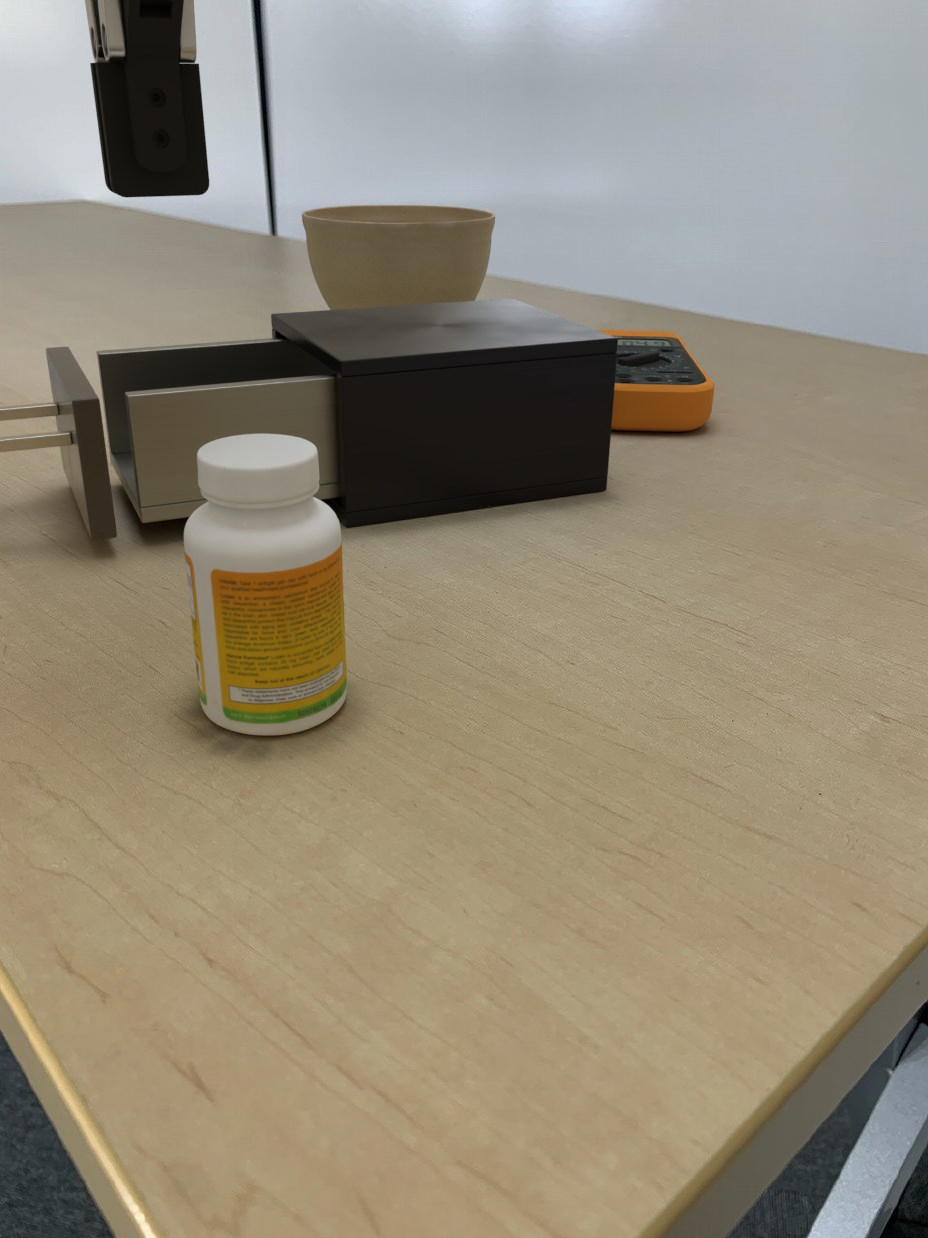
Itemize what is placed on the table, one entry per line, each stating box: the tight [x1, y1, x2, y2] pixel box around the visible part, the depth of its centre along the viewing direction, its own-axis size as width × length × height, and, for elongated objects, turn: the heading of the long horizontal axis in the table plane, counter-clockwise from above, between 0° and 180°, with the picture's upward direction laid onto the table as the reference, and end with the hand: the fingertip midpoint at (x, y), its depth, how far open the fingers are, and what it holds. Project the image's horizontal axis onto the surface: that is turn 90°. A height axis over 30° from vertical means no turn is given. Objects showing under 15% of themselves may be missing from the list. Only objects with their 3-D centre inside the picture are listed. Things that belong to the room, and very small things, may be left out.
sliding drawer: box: [0, 337, 341, 542], centre depth 57 cm, size 20×11×7 cm, turn 114°
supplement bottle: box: [183, 434, 348, 736], centre depth 39 cm, size 5×5×10 cm
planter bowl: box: [301, 204, 496, 310], centre depth 94 cm, size 16×16×11 cm
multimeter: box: [596, 329, 715, 433], centre depth 80 cm, size 9×18×3 cm, turn 179°
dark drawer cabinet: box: [270, 297, 618, 528], centre depth 63 cm, size 16×13×9 cm
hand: (158, 192), depth 38 cm, fingers closed
